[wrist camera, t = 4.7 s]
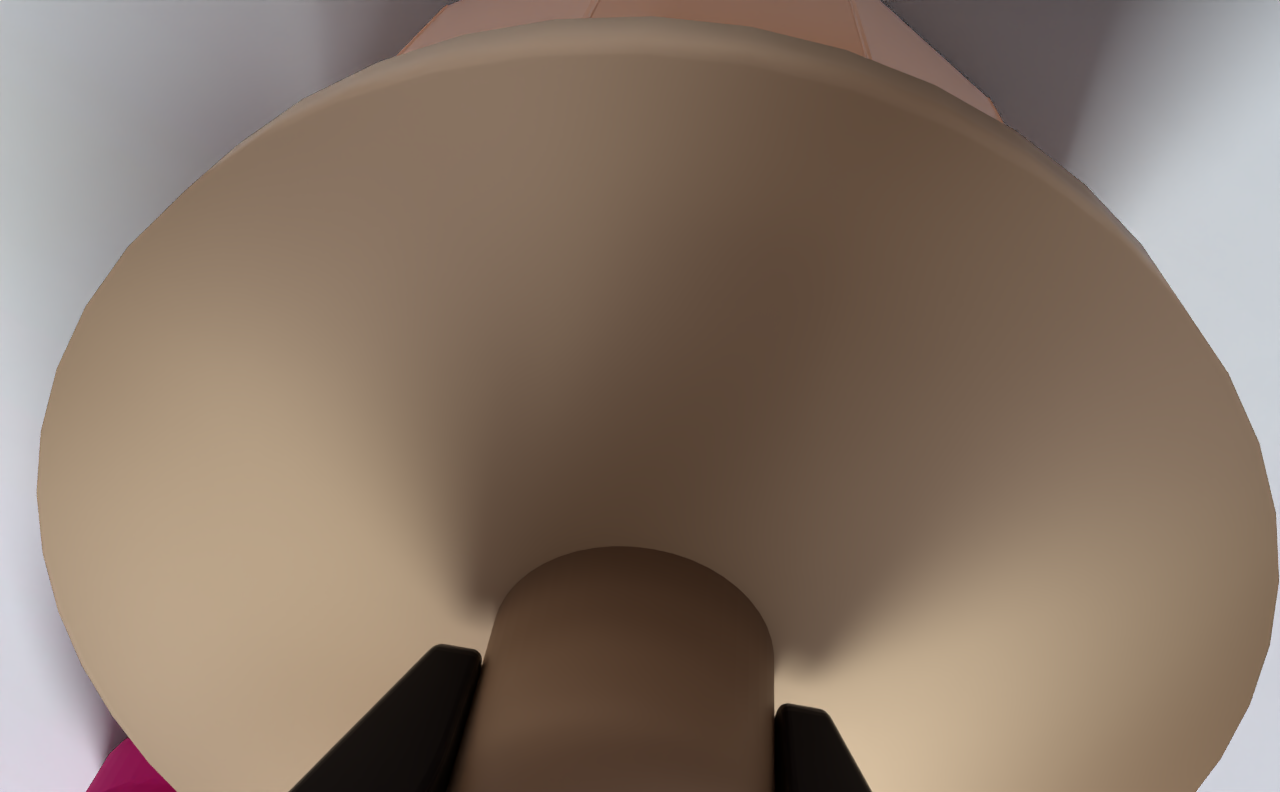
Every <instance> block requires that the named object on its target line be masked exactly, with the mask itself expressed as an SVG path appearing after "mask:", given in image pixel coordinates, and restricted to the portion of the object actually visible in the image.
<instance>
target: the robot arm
mask: <svg viewBox="0 0 1280 792" xmlns="http://www.w3.org/2000/svg"><path fill="white" fill-rule="evenodd" d="M481 667H482V656H481V654H480V653H479V652H478V651H477V650H475V649H471V648H465V647H459V646H454V645H448V644H437V645H435V646H433V647H432V648H431V649H429V650H428V651H427V652H426V653H425V654H424V655H423V656H422V657H421V658H420V659H419V660H418V661H417V662H416V663H415V664H414V665H413V666H412V667H411V668H410V669H409V670H408V671H407V672H406V673H405V674H404V676H403V677H402V678H401V679H400V680H399V681H398V682H397V683H396V684H395V685H394V686H393V687H392V688H391V689H390V690H389V691H388V692H387V693H386V694H385V695H384V696H383V697H382V698H381V699H380V700H379V701H378V702H377V703H376V704H375V705H374V706H373V707H372V708H371V709H370V710H369V711H368V712H367V713H366V714H365V715H364V716H363V717H362V718H361V719H360V720H359V721H358V722H357V723H356V724H355V725H354V726H353V727H352V728H351V729H350V730H349V731H348V732H347V733H346V734H345V735H344V736H343V737H342V738H341V739H340V740H339V741H338V742H337V743H336V744H335V745H334V746H333V747H332V748H331V749H330V750H329V751H328V752H327V753H326V754H325V755H324V756H323V757H322V758H321V759H320V760H319V761H318V762H317V763H316V764H315V765H314V766H313V767H312V768H311V769H310V770H309V771H308V772H307V773H306V774H305V775H304V776H303V777H302V778H301V779H300V780H299V781H298V782H297V783H296V784H295V785H294V786H293V787H292V788H291V789H290V790H289V791H288V792H446V790H447V786H448V783H449V779H450V776H451V772H452V769H453V765H454V762H455V758H456V755H457V751H458V748H459V744H460V741H461V738H462V734H463V731H464V727H465V724H466V720H467V717H468V713H469V710H470V706H471V703H472V699H473V696H474V692H475V689H476V685H477V682H478V678H479V675H480V671H481ZM775 792H872V791H871V789H870V787H869V785H868V783H867V782H866V780H865V778H864V776H863V774H862V772H861V771H860V769H859V767H858V765H857V763H856V762H855V760H854V758H853V756H852V754H851V753H850V751H849V749H848V747H847V745H846V744H845V742H844V740H843V738H842V736H841V735H840V733H839V731H838V729H837V727H836V726H835V724H834V722H833V720H832V718H831V717H830V715H829V714H828V713H827V712H826V711H824V710H822V709H819V708H814V707H808V706H802V705H796V704H790V703H785V704H782V705H781V706H780V707H779V708H778V710H777V712H776V714H775Z"/></svg>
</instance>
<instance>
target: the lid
mask: <svg viewBox="0 0 1280 792" xmlns="http://www.w3.org/2000/svg"><path fill="white" fill-rule="evenodd" d="M37 502H38V512H39V521H40V531H41V541H42V551H43V556H44V560H45V564H46V567H47V571H48V575H49V578H50V582H51V586H52V590H53V593H54V597H55V601H56V605H57V608H58V612H59V614H60V616H61V619H62V621H63V623H64V625H65V628H66V630H67V632H68V635H69V637H70V639H71V642H72V644H73V646H74V649H75V651H76V653H77V656H78V658H79V660H80V662H81V665H82V667H83V668H84V670H85V672H86V673H87V675H88V677H89V678H90V680H91V682H92V683H93V685H94V687H95V688H96V690H97V692H98V693H99V695H100V697H101V698H102V700H103V701H104V703H105V705H106V706H107V708H108V710H109V711H110V713H111V715H112V716H113V718H114V719H115V720H116V721H117V723H118V724H119V725H120V727H121V728H122V729H123V730H124V732H125V733H126V734H127V736H128V737H129V738H130V739H131V741H132V742H133V743H134V745H135V746H136V747H137V748H138V750H139V751H140V752H141V754H142V755H143V756H144V757H145V759H146V760H147V761H148V763H149V764H150V765H151V766H152V767H153V768H154V769H155V770H156V771H157V772H158V773H159V774H160V775H161V776H162V777H163V778H164V779H165V780H166V781H167V782H168V783H169V784H170V785H171V786H172V787H173V788H174V789H175V790H176V791H177V792H288V791H289V790H290V789H291V788H292V787H293V786H294V785H295V784H296V783H297V782H298V781H299V780H300V779H301V778H302V777H303V776H304V775H305V774H306V773H307V772H308V771H309V770H310V769H311V768H312V767H313V766H314V765H315V764H316V763H317V762H318V761H319V760H320V759H321V758H322V757H323V756H324V755H325V754H326V753H327V752H328V751H329V750H330V749H331V748H332V747H333V746H334V745H335V744H336V743H337V742H338V741H339V740H340V739H341V738H342V737H343V736H344V735H345V734H346V733H347V732H348V731H349V730H350V729H351V728H352V727H353V726H354V725H355V724H356V723H357V722H358V721H359V720H360V719H361V718H362V717H363V716H364V715H365V714H366V713H367V712H368V711H369V710H370V709H371V708H372V707H373V706H374V705H375V704H376V703H377V702H378V701H379V700H380V699H381V698H382V697H383V696H384V695H385V694H386V693H387V692H388V691H389V690H390V689H391V688H392V687H393V686H394V685H395V684H396V683H397V682H398V681H399V680H400V679H401V678H402V677H403V676H404V674H405V673H406V672H407V671H408V670H409V669H410V668H411V667H412V666H413V665H414V664H415V663H416V662H417V661H418V660H419V659H420V658H421V657H422V656H423V655H424V654H425V653H426V652H427V651H428V650H429V649H431V648H432V647H433V646H435V645H437V644H448V645H454V646H459V647H465V648H471V649H475V650H477V651H478V652H479V653H480V654H481V656H482V667H481V671H480V675H479V678H478V682H477V685H476V689H475V692H474V696H473V699H472V703H471V706H470V710H469V713H468V717H467V720H466V724H465V727H464V731H463V734H462V738H461V741H460V744H459V748H458V751H457V755H456V758H455V762H454V765H453V769H452V772H451V776H450V779H449V783H448V786H447V790H446V792H775V714H776V712H777V710H778V708H779V707H780V706H781V705H782V704H785V703H790V704H796V705H802V706H808V707H814V708H819V709H822V710H824V711H826V712H827V713H828V714H829V715H830V717H831V718H832V720H833V722H834V724H835V726H836V727H837V729H838V731H839V733H840V735H841V736H842V738H843V740H844V742H845V744H846V745H847V747H848V749H849V751H850V753H851V754H852V756H853V758H854V760H855V762H856V763H857V765H858V767H859V769H860V771H861V772H862V774H863V776H864V778H865V780H866V782H867V783H868V785H869V787H870V789H871V791H872V792H1196V791H1197V790H1198V788H1199V787H1200V786H1201V784H1202V783H1203V782H1204V780H1205V779H1206V778H1207V776H1208V775H1209V774H1210V772H1211V771H1212V770H1213V768H1214V767H1215V766H1216V764H1217V763H1218V762H1219V760H1220V759H1221V757H1222V756H1223V754H1224V752H1225V750H1226V748H1227V746H1228V744H1229V742H1230V741H1231V739H1232V737H1233V735H1234V733H1235V731H1236V729H1237V727H1238V726H1239V724H1240V722H1241V720H1242V718H1243V716H1244V714H1245V713H1246V711H1247V709H1248V707H1249V705H1250V702H1251V699H1252V696H1253V693H1254V691H1255V688H1256V685H1257V682H1258V679H1259V676H1260V673H1261V670H1262V667H1263V664H1264V661H1265V658H1266V655H1267V652H1268V649H1269V646H1270V640H1271V633H1272V626H1273V619H1274V612H1275V605H1276V598H1277V591H1278V584H1279V572H1278V549H1277V526H1276V512H1275V507H1274V503H1273V499H1272V495H1271V491H1270V486H1269V482H1268V478H1267V474H1266V469H1265V465H1264V461H1263V457H1262V453H1261V448H1260V444H1259V442H1258V439H1257V437H1256V435H1255V433H1254V430H1253V428H1252V426H1251V424H1250V421H1249V419H1248V417H1247V415H1246V412H1245V410H1244V408H1243V405H1242V403H1241V401H1240V399H1239V396H1238V394H1237V392H1236V390H1235V387H1234V385H1233V383H1232V381H1231V378H1230V376H1229V374H1228V372H1227V371H1226V369H1225V368H1224V366H1223V365H1222V363H1221V362H1220V360H1219V359H1218V357H1217V356H1216V354H1215V353H1214V351H1213V350H1212V348H1211V347H1210V345H1209V344H1208V342H1207V341H1206V339H1205V338H1204V336H1203V335H1202V333H1201V332H1200V330H1199V329H1198V327H1197V326H1196V324H1195V323H1194V322H1193V320H1192V319H1191V317H1190V316H1189V314H1188V313H1187V311H1186V310H1185V308H1184V307H1183V305H1182V304H1181V302H1180V301H1179V299H1178V298H1177V296H1176V295H1175V293H1174V292H1173V290H1172V289H1171V287H1170V286H1169V284H1168V283H1167V281H1166V280H1165V278H1164V277H1163V275H1162V274H1161V273H1160V271H1159V270H1158V268H1157V267H1156V265H1155V264H1154V262H1153V261H1152V259H1151V258H1150V256H1149V255H1148V253H1147V252H1146V250H1145V249H1144V247H1143V246H1142V245H1141V243H1140V242H1139V241H1138V240H1137V239H1136V238H1135V237H1134V236H1133V235H1132V234H1131V233H1130V232H1129V231H1128V230H1127V229H1126V228H1125V226H1124V225H1123V224H1122V223H1121V222H1120V221H1119V220H1118V219H1117V218H1116V217H1115V216H1114V215H1113V214H1112V213H1111V212H1110V211H1109V209H1108V208H1107V207H1106V206H1105V205H1104V204H1103V203H1102V202H1101V201H1100V200H1099V199H1098V198H1097V197H1096V196H1095V195H1094V194H1093V193H1092V191H1091V190H1090V189H1089V188H1088V187H1087V186H1086V185H1085V184H1084V183H1082V182H1081V181H1080V180H1078V179H1077V178H1076V177H1075V176H1073V175H1072V174H1071V173H1069V172H1068V171H1067V170H1066V169H1064V168H1063V167H1062V166H1060V165H1059V164H1058V163H1057V162H1055V161H1054V160H1053V159H1052V158H1050V157H1049V156H1048V155H1046V154H1045V153H1044V152H1043V151H1041V150H1040V149H1039V148H1037V147H1036V146H1035V145H1034V144H1032V143H1031V142H1030V141H1028V140H1027V139H1026V138H1025V137H1023V136H1022V135H1021V134H1019V133H1018V132H1017V131H1016V130H1014V129H1012V128H1010V127H1008V126H1007V125H1005V124H1003V123H1001V122H1000V121H998V120H996V119H994V118H993V117H991V116H989V115H987V114H986V113H984V112H982V111H980V110H978V109H977V108H975V107H973V106H971V105H970V104H968V103H966V102H964V101H963V100H961V99H959V98H957V97H956V96H954V95H952V94H950V93H948V92H947V91H945V90H943V89H941V88H940V87H938V86H936V85H934V84H931V83H929V82H926V81H924V80H921V79H919V78H916V77H914V76H911V75H909V74H906V73H904V72H901V71H898V70H896V69H893V68H891V67H888V66H886V65H883V64H881V63H878V62H876V61H873V60H871V59H868V58H865V57H863V56H860V55H858V54H855V53H853V52H850V51H848V50H845V49H841V48H837V47H832V46H828V45H824V44H820V43H816V42H812V41H808V40H804V39H800V38H796V37H791V36H787V35H783V34H779V33H775V32H771V31H767V30H763V29H759V28H755V27H750V26H741V25H731V24H722V23H712V22H703V21H693V20H684V19H674V18H665V17H655V16H645V17H611V18H577V19H554V20H548V21H542V22H536V23H530V24H524V25H518V26H512V27H506V28H500V29H495V30H489V31H483V32H477V33H471V34H465V35H461V36H458V37H455V38H452V39H449V40H446V41H442V42H439V43H436V44H433V45H430V46H427V47H424V48H420V49H417V50H414V51H411V52H408V53H405V54H401V55H398V56H395V57H392V58H389V59H386V60H383V61H379V62H377V63H375V64H373V65H371V66H369V67H367V68H365V69H363V70H361V71H359V72H357V73H355V74H353V75H351V76H349V77H347V78H345V79H342V80H340V81H338V82H336V83H334V84H332V85H330V86H328V87H326V88H324V89H322V90H320V91H318V92H316V93H314V94H312V95H310V96H308V97H306V98H304V99H302V100H301V101H299V102H298V103H296V104H295V105H293V106H292V107H291V108H289V109H288V110H286V111H285V112H283V113H282V114H281V115H279V116H278V117H276V118H275V119H273V120H272V121H271V122H269V123H268V124H266V125H265V126H263V127H262V128H261V129H259V130H258V131H256V132H255V133H254V134H252V135H251V136H249V137H248V138H246V139H245V140H244V141H242V142H241V143H239V144H238V145H237V146H236V147H234V148H233V149H232V150H231V151H230V152H229V153H228V154H226V155H225V156H224V157H223V158H222V159H221V160H220V161H218V162H217V163H216V164H215V165H214V166H213V167H212V168H210V169H209V170H208V171H207V172H206V173H205V174H204V175H202V176H201V177H200V178H199V179H198V180H197V181H196V182H194V183H193V184H192V185H191V186H190V187H189V188H188V189H186V190H185V191H184V192H183V193H182V194H181V195H180V196H179V197H178V198H177V199H176V200H175V201H174V202H173V203H172V204H171V205H170V206H169V207H168V208H167V209H166V210H165V211H164V212H163V213H162V214H161V215H160V216H159V217H158V218H157V219H156V220H155V221H154V222H153V223H152V224H151V225H150V226H149V227H148V228H147V229H146V230H145V231H144V232H142V233H141V234H140V235H139V236H138V237H137V238H136V239H135V240H134V241H133V242H132V243H131V244H130V245H129V246H128V247H127V249H126V250H125V252H124V253H123V255H122V256H121V257H120V259H119V260H118V262H117V263H116V264H115V266H114V267H113V269H112V270H111V271H110V273H109V274H108V276H107V277H106V278H105V280H104V281H103V283H102V284H101V285H100V287H99V288H98V290H97V291H96V293H95V294H94V295H93V297H92V298H91V300H90V301H89V302H88V304H87V305H86V307H85V309H84V311H83V313H82V315H81V318H80V320H79V322H78V324H77V326H76V328H75V331H74V333H73V335H72V337H71V339H70V341H69V343H68V346H67V348H66V350H65V352H64V354H63V356H62V359H61V361H60V363H59V365H58V367H57V370H56V374H55V378H54V382H53V386H52V390H51V394H50V397H49V401H48V405H47V409H46V413H45V417H44V421H43V425H42V429H41V437H40V451H39V466H38V480H37Z"/></svg>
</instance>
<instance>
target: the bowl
mask: <svg viewBox="0 0 1280 792" xmlns="http://www.w3.org/2000/svg"><path fill="white" fill-rule="evenodd" d="M645 16H655V17H665V18H674V19H684V20H693V21H703V22H712V23H722V24H731V25H741V26H750V27H755V28H759V29H763V30H767V31H771V32H775V33H779V34H783V35H787V36H791V37H796V38H800V39H804V40H808V41H812V42H816V43H820V44H824V45H828V46H832V47H837V48H841V49H845V50H848V51H850V52H853V53H855V54H858V55H860V56H863V57H865V58H868V59H871V60H873V61H876V62H878V63H881V64H883V65H886V66H888V67H891V68H893V69H896V70H898V71H901V72H904V73H906V74H909V75H911V76H914V77H916V78H919V79H921V80H924V81H926V82H929V83H931V84H934V85H936V86H938V87H940V88H941V89H943V90H945V91H947V92H948V93H950V94H952V95H954V96H956V97H957V98H959V99H961V100H963V101H964V102H966V103H968V104H970V105H971V106H973V107H975V108H977V109H978V110H980V111H982V112H984V113H986V114H987V115H989V116H991V117H993V118H994V119H996V120H998V121H1000V122H1001V123H1003V124H1004V122H1003V121H1002V119H1001V117H1000V115H999V113H998V112H997V110H996V108H995V106H994V104H993V103H992V101H991V99H990V98H989V97H988V98H987V97H986V96H985V95H984V94H983V93H982V92H981V91H980V90H979V89H977V88H976V87H975V86H974V85H973V84H972V83H971V82H970V81H969V80H968V79H966V78H965V77H964V76H963V75H962V74H961V73H960V72H959V71H958V70H956V69H955V68H954V67H953V66H952V65H951V64H950V63H949V62H948V61H947V60H945V59H944V58H943V57H942V56H941V55H940V54H939V53H938V52H937V51H935V50H934V49H933V48H932V47H931V46H930V45H929V44H928V43H927V42H926V41H924V40H923V39H922V38H921V37H920V36H919V35H918V34H917V33H916V32H914V31H913V30H912V29H911V28H910V27H909V26H908V25H907V24H906V23H905V22H903V21H902V20H901V19H900V18H899V17H898V16H897V15H896V14H895V13H893V12H892V11H891V10H890V9H889V8H888V7H887V6H886V5H885V4H884V3H882V2H881V1H880V0H460V1H458V2H455V3H453V4H450V5H446V6H445V7H443V8H442V9H441V10H440V11H439V12H438V13H437V14H436V15H435V16H434V17H433V18H432V19H431V20H430V21H429V22H428V23H427V24H426V25H425V26H424V27H423V28H422V29H421V31H420V32H419V33H418V34H417V35H416V36H415V37H414V38H413V39H412V40H411V41H410V42H409V43H408V44H407V45H406V46H405V47H404V48H403V49H402V50H401V51H400V52H399V53H398V54H397V55H396V56H398V55H401V54H405V53H408V52H411V51H414V50H417V49H420V48H424V47H427V46H430V45H433V44H436V43H439V42H442V41H446V40H449V39H452V38H455V37H458V36H461V35H465V34H471V33H477V32H483V31H489V30H495V29H500V28H506V27H512V26H518V25H524V24H530V23H536V22H542V21H548V20H554V19H577V18H611V17H645Z"/></svg>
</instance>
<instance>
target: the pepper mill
mask: <svg viewBox="0 0 1280 792" xmlns="http://www.w3.org/2000/svg"><path fill="white" fill-rule="evenodd" d="M86 792H177V791H176V790H175V789H174V788H173V787H172V786H171V785H170V784H169V783H168V782H167V781H166V780H165V779H164V778H163V777H162V776H161V775H160V774H159V773H158V772H157V771H156V770H155V769H154V768H153V767H152V766H151V765H150V764H149V763H148V761H147V760H146V759H145V757H144V756H143V755H142V754H141V752H140V751H139V750H138V748H137V747H136V746H135V745H134V743H133V742H132V741H131V739H130V738H129V737H128V738H126V739H125V740H124V741H123V742H122V743H120V744H119V745H118V746H117V747H116V748H115V749H114V750H113V751H112V752H111V753H110V754H109V755H108V757H107V758H106V760H105V762H104V763H103V765H102V767H101V768H100V770H99V771H98V773H97V775H96V776H95V778H94V780H93V781H92V783H91V784H90V786H89V788H88V789H87V791H86Z"/></svg>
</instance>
